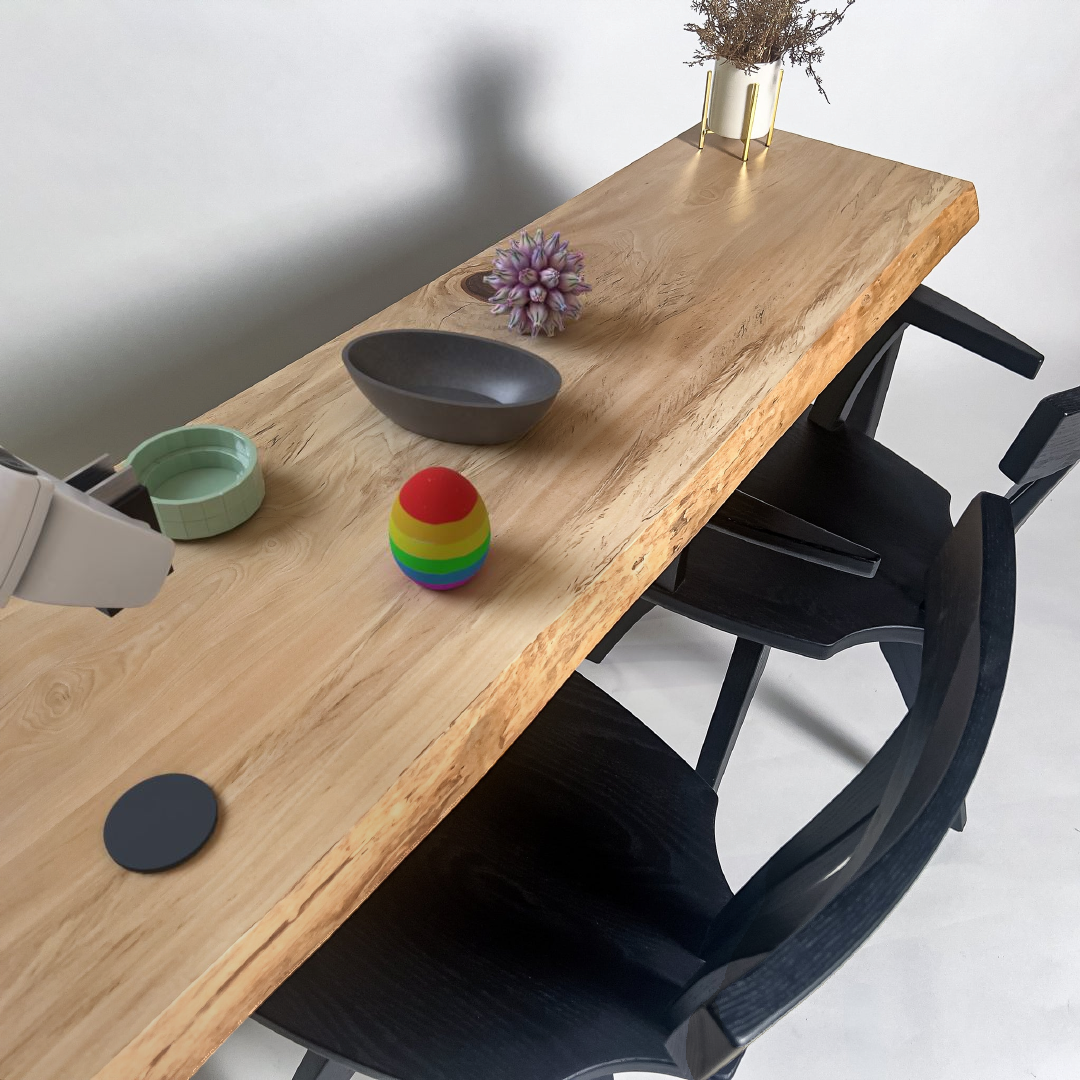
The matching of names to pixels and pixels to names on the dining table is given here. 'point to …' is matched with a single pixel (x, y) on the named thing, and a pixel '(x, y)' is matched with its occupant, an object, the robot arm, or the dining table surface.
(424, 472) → the decorative egg
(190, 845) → the coaster
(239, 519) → the green bowl
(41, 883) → the dining table surface
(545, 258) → the flower
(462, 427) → the bowl
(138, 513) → the clip
